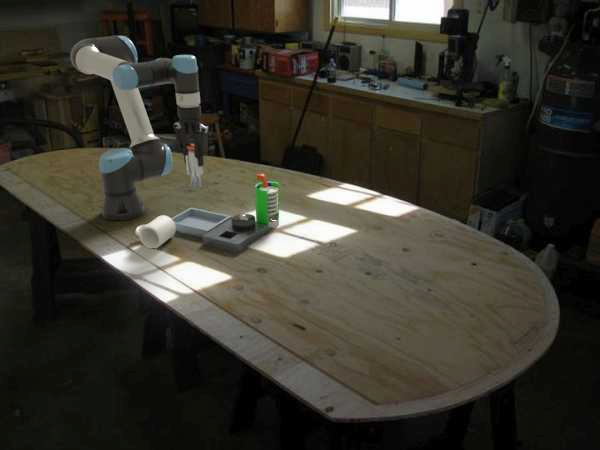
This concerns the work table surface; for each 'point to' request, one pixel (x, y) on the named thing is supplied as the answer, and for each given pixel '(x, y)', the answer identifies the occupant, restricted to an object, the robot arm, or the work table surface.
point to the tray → (198, 221)
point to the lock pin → (193, 166)
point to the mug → (156, 231)
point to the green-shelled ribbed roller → (267, 201)
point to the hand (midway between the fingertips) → (195, 174)
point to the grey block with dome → (236, 233)
